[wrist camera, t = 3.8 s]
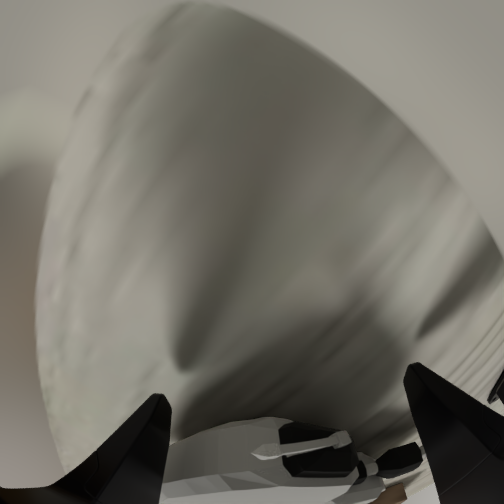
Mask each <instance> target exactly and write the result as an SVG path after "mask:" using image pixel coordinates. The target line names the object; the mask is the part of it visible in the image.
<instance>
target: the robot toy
mask: <svg viewBox="0 0 504 504" xmlns="http://www.w3.org/2000/svg"><path fill="white" fill-rule="evenodd" d="M426 457H427V456H426V453H425V450H424V447H423V445H422V446H421V447H419V446H418V445H417V444H416V442H412V443H409V444H406V445H403V446H400V447H396V448H393V449H389V450H388V451H386V452H385V453H384V454H383V455H382V456H381V457H379V458H378V459H377V460H375V459H374V458H372V457H370V456H367V455H365V454H363V452H356V449H355V445H354V442H353V439H352V436H350V435H348V433H347V431H346V430H344V431H342V430H338V429H332V428H326V427H321V426H315V425H310V424H306V423H301V422H296V421H291V420H289V419H283V418H275V417H261V418H258V419H252V420H244V421H234V422H229V423H226V424H222V425H219V426H216V427H213V428H210V429H207V430H204V431H201V432H199V433H197V434H194V435H192V436H190V437H188V438H186V439H184V440H181V441H179V442H177V443H174V444H172V445H170V446H169V449H168V455H167V460H166V466H165V471H164V477H163V482H162V488H161V494H160V500H159V504H368V503H370V502H372V501H374V500H375V499H377V498H378V497H379V495H380V494H381V492H383V491H385V490H386V488H385V485H384V482H383V479H382V478H386V479H389V478H394V477H397V476H400V475H403V474H405V473H408V472H411V471H413V470H415V469H416V468H418V467H419V466H420V465H421V463H422V462H423V459H424V458H426Z"/></svg>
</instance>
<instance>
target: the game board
mask: <svg viewBox="0 0 504 504" xmlns="http://www.w3.org/2000/svg"><path fill="white" fill-rule="evenodd" d="M405 500H407V496H406V493H405V490H404V486H403V483H400V484H397V485H394V486H392V487H389V488H386V490H385V491H383V492H381V494H380V495H379V497H378V498H377V499H375V500H374V501H372V502H370V503H368V504H401V503H402V502H404V501H405Z"/></svg>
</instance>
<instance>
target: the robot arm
mask: <svg viewBox="0 0 504 504" xmlns="http://www.w3.org/2000/svg"><path fill="white" fill-rule="evenodd" d="M403 383H404V387H405V391H406V395H407V398H408V402H409V406H410V410H411V414H412V417H413V420H414V422H415V425H416V428H417V431H418V433H419V436H420V439H421V442H422V445H423V447H424V450H425V453H426V456H427V459H428V462H429V466H430V469H431V472H432V475H433V479H434V482H435V485H436V489H437V492H438V496H439V500H440V504H504V416H502V415H500V414H498V413H497V412H495V411H493V410H492V409H490V408H488V407H487V406H485V405H483V404H482V403H481V402H479V401H478V400H476V399H475V398H473V397H471V396H470V395H468V394H467V393H465V392H464V391H462V390H461V389H459V388H458V387H456V386H455V385H453V384H452V383H450V382H448V381H447V380H445V379H444V378H442V377H441V376H439V375H438V374H436V373H435V372H433V371H432V370H430V369H429V368H427V367H425V366H424V365H422V364H421V363H419V362H416V363H412V364H410V365H408V367H407V370H406V373H405V376H404V379H403ZM499 398H500V400H501V401H502V403H503V404H504V373H503V374H502V376H501V378H500V380H499V381H498V383H497V385H496V386H495V388H494V390H493V391H492V393H491V394H490V396H489V397H488V399H487V401H488V403H489V404H491V403H493V402H494V401H496V400H498V399H499ZM171 415H172V409H171V406H170V404H169V402H168V400H167V399H166V397H165V395H164V394H158V393H154V394H152V395H151V396H150V397H149V398H148V399H147V400H146V401H145V402H144V403H143V404H142V405H141V406H140V407H139V408H138V409H137V410H136V411H135V412H134V413H133V414H132V415H131V416H130V417H129V418H128V419H127V420H126V421H125V422H124V423H123V424H122V425H121V426H120V427H119V428H118V429H117V430H116V431H115V432H114V433H113V434H112V435H111V436H110V437H109V438H108V439H107V440H106V441H105V442H104V443H103V444H102V445H101V446H100V447H99V448H98V449H97V451H94V452H93V453H92V454H91V455H90V456H89V457H88V458H87V459H86V460H85V461H83V462H82V463H81V464H80V465H79V466H77V467H76V468H75V469H73V470H72V471H71V472H69V473H68V474H67V475H65V476H64V477H63V478H61V479H60V480H58V481H57V482H55V483H54V484H52V485H49V486H46V487H40V488H20V489H19V488H18V489H8V488H2V487H0V504H159V500H160V494H161V488H162V482H163V477H164V471H165V466H166V460H167V455H168V449H169V442H170V428H171Z"/></svg>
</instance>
